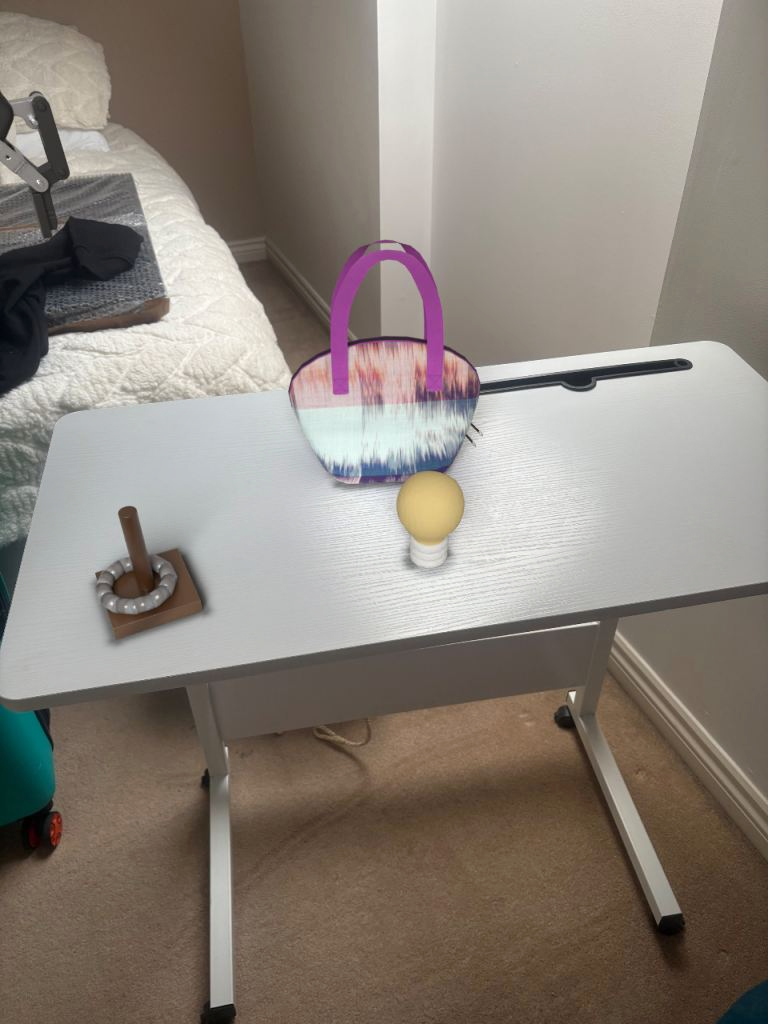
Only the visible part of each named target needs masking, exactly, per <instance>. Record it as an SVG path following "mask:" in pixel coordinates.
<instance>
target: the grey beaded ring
mask: <svg viewBox="0 0 768 1024" xmlns="http://www.w3.org/2000/svg"><path fill="white" fill-rule="evenodd" d="M148 556H149V560H150V564H151V568H152V570H153V571H155V572H157V573H159V574H160V577H161V581H160V584H159V586H158V587H157V588H156V589H155V590H153V591H152V592H151V593H150V594H148V595H145V596H141V597H138V598H135V599H131V598H120V597H118V596H117V595H115V594H113V591H112V586H113V584H114V582H115V580H117V579H118V578H119V577H121V576H122V575H123V574H125V573H127V572H131V571H133V568H132V564H131V560H130V557H129V556H126V557H123V558H119V559H117V560H116V561H114V562H113V563H111V564H110V565H109V566H107V567H106V568H105V569H103V570H101V571H102V573H101V575H100V577H99V579H98V581H97V580H96V583H95V585H94V591H95V594H96V598H97V601H98V603H99V605H100V606H102V607H103V608H105V609H106V608H107V609H109V610H110V611H112V612H114V613H117V614H140V613H143V612H146V611H149V610H152V609H155V608H157V607H158V606H160V605H161V604H162V603H163V602H164V601H166V600H167V599H168V598H169V597H170V596H171V595H172V594H173V591H174V588H175V586H176V583H177V580H178V578H177V575H176V572H175V570H174V568H173V565H172V564H171V563H170V562H168V561H166V560H164V559H163V558H161V557H159V556H157V555H155V554H148Z"/></svg>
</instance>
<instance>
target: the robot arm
mask: <svg viewBox="0 0 768 1024" xmlns="http://www.w3.org/2000/svg"><path fill="white" fill-rule="evenodd" d="M15 117H20V118H21V119H23V121H24V123H25V124H26V126H27V127H28V128H29V129H31V130H37V131H38V135H39V138H40V140H41V144H42V147H43V150H44V154H45V156H46V157H45V158H46V162H44V163H43V164H40V165H39V166H38V165H36V164H35V163H34V162H32V160H30V158H28V157H27V156H26V155H24V153H22V151H21V150H20V149H18V147H16V145H14V144H13V143H12V142H11V141H10V140H9V139H7V138H8V135H9V132H10V130H11V128H12V125H13V123H14V121H15V120H14V119H15ZM55 121H56V120H55V117H54V114H53V110H52V108H51V104H50V103H49V101H48V100H47V98H46V96H45V95H44V94H43V93H42V92H40V91H39V90H33V91H31V92H30V93H29V94H28V96H25V97H20V98H19V97H18V98H14V99H7V98H6V96H4V94H3V93H2V91H1V90H0V163H1V164H3V165H4V166H5V167H6V168H7V169H8V170H10V171H11V172H12V173H14V174H15V175H17V176H18V177H20V179H22V180H23V181H24V183H26V184H28V186H27V187H28V190H29V195H30V198H31V203H32V206H33V209H34V213H35V217H36V220H37V224H38V227H39V230H40V233H41V236H42V238H43V240H48V239H52V238H53V232H52V231H57V230H58V226H59V222H58V217H57V213H56V210H55V206H54V202H53V199H52V194H51V189H52V186H53V185H55V184H57V183H58V182H60V181H66V180H67V179H69V178H70V176H71V170H70V167H69V164H68V160H67V157H66V154H65V150H64V147H63V144H62V140H61V138H60V134H59V131H58V128H57V124H56V122H55Z"/></svg>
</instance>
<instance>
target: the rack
mask: <svg viewBox="0 0 768 1024" xmlns="http://www.w3.org/2000/svg"><path fill="white" fill-rule="evenodd" d="M117 516H118V519H119V523H120V528H121V530H122V534H123V538H124V541H125V545H126V549H127V553H128V557H130V560H131V564H132V568H133V571H131V572H127V573H125V574H123V575H122V576H121V577H119V578H118V579H117V580H115V582H114V584H113V586H112V591H113V594H115V595H117V596H118V597H120V598H131V599H135V598H138V597H141V596H145V595H148V594H150V593H151V592H152V591H153V590H155V589H156V588H157V587H158V586H159V584H160V581H161V577H160V574H159V573H157V572H155V571H153V570H152V568H151V564H150V560H149V556H148V555H149V552H148V548H147V545H146V541H145V536H144V533H143V529H142V524H141V521H140V517H139V513H138V509H137V508H136V507H135V506H133V505H125V506H122V507H120V508H119V510H118V511H117ZM154 555H157V556H159V557H161V558H163V559H164V560H166V561H168V562H170V563H171V564H172V565H173V568H174V570H175V572H176V575H177V578H178V580H177V583H176V586H175V588H174V591H173V594H172V595H171V596H170V597H169V598H168V599H167V600H166V601H164V602H163V603H162V604H161V605H160V606H158V607H157V608H155V609H152V610H149V611H146V612H143V613H140V614H117V613H114V612H112V611H110V610H109V609H107V608H105V610H106V613H107V616H108V619H109V623H110V625H111V629H112V632H113V635H114V637H115V640H120V639H124V638H126V637H130V636H132V635H135V634H138V633H141V632H144V631H148V630H151V629H153V628H157V627H159V626H162V625H166V624H168V623H171V622H174V621H178V620H181V619H185V618H187V617H189V616H193V615H195V614H198V613H201V612H203V611H204V609H203V608H204V607H203V603H202V600H201V597H200V595H199V593H198V590H197V588H196V586H195V584H194V581H193V580H192V577H191V575H190V573H189V570H188V568H187V566H186V564H185V561H184V559H183V557H182V554H181V552H180V550H179V548H178V547H176V548H172V549H169V550H166V551H163V552H159V553H156V554H154ZM102 571H103V570H100V571H96V572H95V573H94V575H95V578H96V582H97V581H98V579H99V577H100V575H101V573H102Z"/></svg>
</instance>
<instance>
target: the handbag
mask: <svg viewBox="0 0 768 1024" xmlns="http://www.w3.org/2000/svg"><path fill="white" fill-rule="evenodd" d="M376 244H377V245H378V244H399V245H400V246H401V248H402V249H403V250H404V251H402V250H398V249H397V250H396V249H381V250H374V251H370V252H369V253H367V254H365V253H366V251H367V250H368V248H369V247H370V246H372V245H376ZM364 254H365V255H364ZM384 261H396V262H398V263H400V264H401V265H403V266H404V267H405V268H406V269H407V271H408V272H409V274H410V275H411V277H412V280H413V281H414V283H415V285H416V288H417V290H418V292H419V295H420V298H421V300H422V309H423V338H420V337H414V336H406V335H379V336H371V337H363V338H362V337H361V338H357V339H354V340H350V341H348V334H349V333H348V331H349V320H350V319H349V318H350V312H351V310H352V309H351V308H352V304H353V302H354V299H355V297H356V294H357V292H358V290H359V288H360V286H361V284H362V282H363V280H364V278H365V276H366V275H367V273H368V272H369V270H370V269H371V268H372V267H373V266H375V265H376V264H378V263H380V262H384ZM330 304H331V305H330V321H329V323H330V324H329V325H330V327H329V328H330V329H329V331H330V332H329V333H330V337H329V338H330V347H329V348H327V349H324V350H322V351H320V352H317V353H316V354H314V355H313V356H311V357H310V358H308V359H307V360H305V361H304V362H302V363H301V364H300V366H299V367H298V368H297V370H296V371H295V372H294V374H293V375H292V376H291V378H290V381H289V385H288V390H287V392H288V397H289V402H290V407H291V408H292V411H293V413H294V415H295V418H296V420H297V422H298V424H299V427H300V428H301V431H302V433H303V434H304V436H305V438H306V440H307V441H308V444H309V445H310V447H311V449H312V451H313V452H314V454H315V456H316V457H317V459H318V461H319V462H320V464H321V465H322V467H323V469H324V470H325V471H326V472H328V473H329V474H330V475H331V476H332V477H333V479H335V481H337V482H341V483H344V484H347V485H362V484H363V485H364V484H365V485H367V484H383V483H405V482H406V480H407V479H408V478H410V477H411V476H412V475H414V474H416V473H418V472H422V471H436V472H440V473H444V474H445V472H446V471H448V469H449V468H450V467H451V466H452V464H453V463H454V462H455V459H456V457H457V456H458V454H459V452H460V450H461V448H462V445H463V443H464V441H465V439H467V440H468V441H469V442H470V443H471V444H472V446H473V447H474V448H476V447H477V445H476V443H475V442H474V441H473V439H472V438H471V437H470V436H469V435H468V431H469V429H470V427H472V429H474V430H475V432H477V434H479V435H480V436H481V437H483V436H484V435H483V432H482V431H481V430H480V429H479V428H478V427H477V426H476V425H475V424H473V422H472V421H473V419H474V415H475V412H476V409H477V406H478V403H479V399H480V393H481V380H480V377H479V373H478V370H477V369H476V368H475V366H474V365H473V364H472V363H471V362H470V361H469V359H468V358H467V357H466V356H465V355H463V354H461V353H459V351H457V350H455V349H454V348H452V347H450V346H448V345H445V344H444V342H445V341H444V339H445V337H444V336H445V335H444V316H443V315H444V314H443V307H442V302H441V298H440V296H439V292H438V287H437V284H436V281H435V279H434V276H433V273H432V272H431V270H430V267H429V265H428V264H427V261H426V260H425V259H424V257H423V256H422V254H421V253H420V252H419V251H418V250H417V249H416V248H415V247H413V246H412V245H411V244H406V243H402V242H400V241H396V240H393V239H382V240H376V241H373V242H372V243H368V244H365V245H363V246H359V247H358V248H356V250H355V251H354V252H352V253H351V254H350V256H349V257H348V258H347V260H346V261H345V264H344V265H343V267H342V269H341V271H340V273H339V276H338V278H337V280H336V283H335V287H334V289H333V293H332V298H331V303H330Z"/></svg>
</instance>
